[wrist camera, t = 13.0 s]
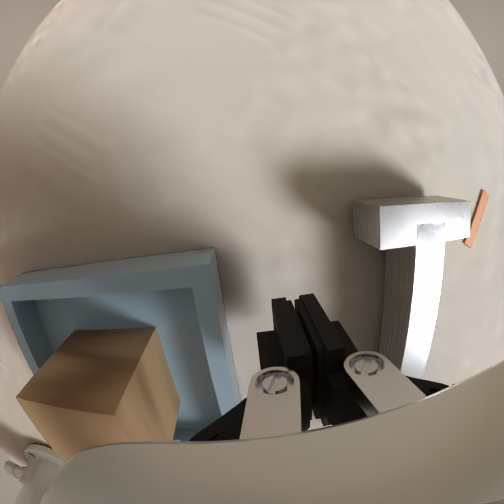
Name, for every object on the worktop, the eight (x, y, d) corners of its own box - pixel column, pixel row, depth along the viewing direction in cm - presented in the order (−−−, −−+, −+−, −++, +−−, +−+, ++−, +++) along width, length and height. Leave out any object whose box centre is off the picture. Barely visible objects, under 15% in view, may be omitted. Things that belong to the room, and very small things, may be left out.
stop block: (105, 399, 14) (71, 470, 8) (74, 329, 13) (15, 397, 7) (180, 401, 14) (163, 488, 8) (156, 327, 13) (113, 415, 7)
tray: (89, 421, 15) (77, 444, 13) (23, 272, 12) (-3, 287, 10) (246, 426, 15) (247, 455, 13) (214, 247, 13) (209, 264, 10)
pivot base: (316, 416, 16) (316, 418, 15) (482, 187, 12) (484, 187, 12) (372, 433, 17) (373, 435, 16) (514, 242, 13) (516, 242, 13)
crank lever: (404, 413, 16) (419, 436, 13) (341, 432, 16) (352, 460, 13) (437, 195, 12) (470, 201, 9) (352, 200, 12) (379, 206, 9)
